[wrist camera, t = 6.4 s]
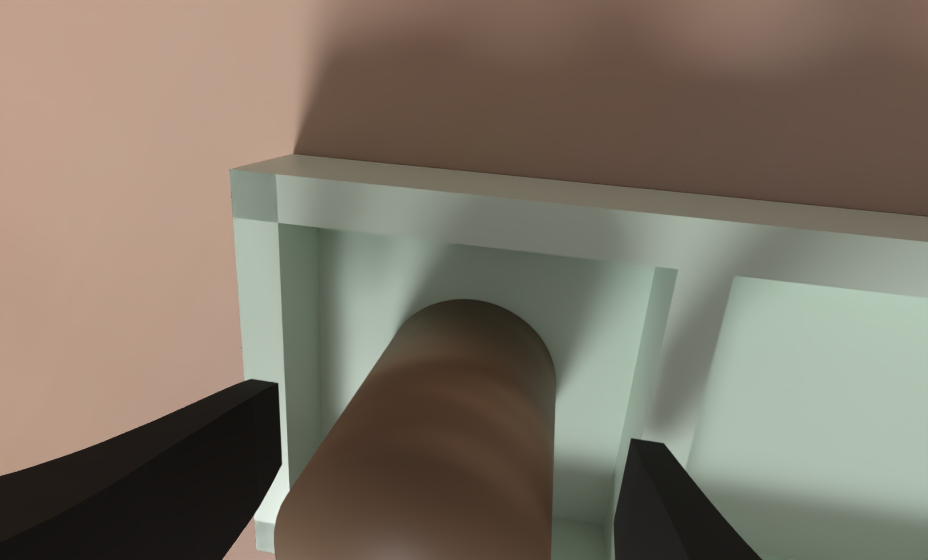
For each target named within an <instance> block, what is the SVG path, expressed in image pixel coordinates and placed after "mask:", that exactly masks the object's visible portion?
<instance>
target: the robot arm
mask: <svg viewBox="0 0 928 560" xmlns="http://www.w3.org/2000/svg"><path fill="white" fill-rule="evenodd" d="M281 466H282V447H281V426H280V405H279V385H278V383H276V382H269V381H263V380H256V379H249V380H246V381H243V382H241V383H238V384H236V385H233V386H231V387H228V388H226V389H224V390H222V391H219V392H217V393H215V394H213V395H210V396H208V397H206V398H204V399H201V400H199V401H197V402H195V403H193V404H190V405H188V406H186V407H184V408H181V409H179V410H177V411H175V412H173V413H170V414H168V415H166V416H164V417H161V418H159V419H157V420H155V421H152V422H150V423H147V424H145V425H143V426H140V427H138V428H135V429H133V430H130V431H128V432H126V433H123V434H121V435H118V436H116V437H113V438H111V439H109V440H106V441H104V442H101V443H99V444H96V445H94V446H91V447H88V448H86V449H83V450H80V451H77V452H75V453H72V454H69V455H66V456H63V457H60V458H57V459H54V460H51V461H48V462H45V463H42V464H39V465H36V466H33V467H30V468H27V469H23V470H20V471H17V472H13V473H10V474H6V475H2V476H0V560H222V559H223V558H224V556H225V555H226V553H227V552H228V551H229V549H230V548H231V547H232V545H233V544H234V542H235V541H236V540H237V538H238V537H239V535H240V534H241V533H242V531H243V530H244V528H245V527H246V526H247V524H248V523H249V521H250V520H251V518H252V517H253V516H254V514H255V513H256V511H257V510H258V508H259V507H260V505H261V503H262V501H263V500H264V498H265V496H266V494H267V492H268V491H269V489H270V487H271V485H272V483H273V481H274V479H275V477H276V475H277V473H278V472H279V470H280V468H281ZM613 525H614V549H615V560H762V559H761V558H760V557H759V555H758V554H757V553H756V552H755V551H754V550H753V549H752V548H751V547H750V546H749V545H748V544H747V543H746V542H745V541H744V540H743V538H742V537H741V536H740V535H739V534H738V533H737V532H736V531H735V529H734V528H733V527H732V526H731V525H730V524H729V523H728V522H727V520H726V519H725V518H724V517H723V516H722V515H721V513H720V512H719V511H718V510H717V509H716V507H715V506H714V505H713V504H712V503H711V502H710V500H709V499H708V498H707V497H706V495H705V494H704V493H703V492H702V491H701V489H700V488H699V487H698V486H697V484H696V483H695V482H694V481H693V479H692V478H691V477H690V476H689V474H688V473H687V472H686V470H685V469H684V468H683V467H682V465H681V464H680V463H679V462H678V460H677V459H676V458H675V456H674V455H673V454H672V453H671V451H670V450H669V449H668V448H667V446H666V445H665V444H664V443H660V442H654V441H647V440H641V439H634V438H631V440H630V445H629V450H628V455H627V460H626V464H625V469H624V474H623V479H622V484H621V488H620V493H619V498H618V503H617V508H616V512H615V517H614V522H613Z"/></svg>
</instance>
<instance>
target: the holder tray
mask: <svg viewBox="0 0 928 560" xmlns="http://www.w3.org/2000/svg"><path fill="white" fill-rule="evenodd" d="M229 170H230V184H231V198H232V212H233V226H234V240H235V254H236V268H237V282H238V296H239V310H240V324H241V338H242V352H243V366H244V380H245V381H246V380H249V379H256V380H263V381H269V382H276V383H278V385H279V405H280V426H281V447H282V466H281V468H280V470H279V472H278V473H277V475H276V477H275V479H274V481H273V483H272V485H271V487H270V489H269V491H268V492H267V494H266V496H265V498H264V500H263V501H262V503H261V505H260V507H259V508H258V510H257V511H256V513H255V514H254V519H255V533H256V547H257V550H259V551H264V552H269V553H274V554H275V550H274V528H275V522H276V517H277V514H278V512H279V509H280V506H281V504H282V502H283V501H284V499H285V497H286V495H287V494H288V492H289V491H290V489H291V488H292V486H293V485H294V483H295V482H296V480H297V479H298V477H299V476H300V474H301V473H302V472H303V470H304V469H305V467H306V466H307V464H308V463H309V461H310V460H311V458H312V457H313V455H314V454H315V452H316V451H317V449H318V448H319V446H320V445H321V443H322V442H323V440H324V439H325V438H326V436H327V435H328V433H329V432H330V430H331V429H332V427H333V426H334V424H335V423H336V421H337V420H338V418H339V417H340V415H341V414H342V412H343V411H344V409H345V408H346V407H347V405H348V404H349V402H350V401H351V399H352V398H353V396H354V395H355V393H356V392H357V390H358V389H359V387H360V386H361V384H362V383H363V381H364V380H365V378H366V377H367V376H368V374H369V373H370V371H371V370H372V368H373V367H374V365H375V364H376V362H377V361H378V359H379V358H380V356H381V355H382V353H383V352H384V350H385V349H386V347H387V346H388V345H389V343H390V342H391V340H392V339H393V337H394V336H395V334H396V333H397V331H398V330H399V329H400V327H401V326H402V325H403V324H404V323H405V322H406V321H407V320H408V319H409V318H410V317H411V316H412V315H414V314H415V313H417V312H418V311H420V310H421V309H423V308H426V307H428V306H430V305H432V304H435V303H438V302H442V301H447V300H453V299H473V300H480V301H485V302H489V303H492V304H495V305H498V306H501V307H503V308H505V309H507V310H509V311H511V312H513V313H514V314H516V315H517V316H519V317H520V318H522V319H523V320H524V321H525V322H527V323H528V324H529V325H530V326H531V327H532V328H533V329H534V330H535V331H536V332H537V333H538V335H539V336H540V337H541V339H542V340H543V341H544V343H545V345H546V347H547V349H548V350H549V353H550V355H551V358H552V360H553V364H554V368H555V375H556V401H555V435H554V470H553V505H552V539H551V560H615V549H614V525H613V522H614V517H615V512H616V508H617V503H618V498H619V493H620V488H621V484H622V479H623V474H624V469H625V464H626V460H627V455H628V450H629V445H630V440H631V438H634V439H641V440H647V441H654V442H660V443H664V444H665V445H666V446H667V448H668V449H669V450H670V451H671V453H672V454H673V455H674V456H675V458H676V459H677V460H678V462H679V463H680V464H681V465H682V467H683V468H684V469H685V470H686V472H687V473H688V474H689V476H690V477H691V478H692V479H693V481H694V482H695V483H696V484H697V486H698V487H699V488H700V489H701V491H702V492H703V493H704V494H705V495H706V497H707V498H708V499H709V500H710V502H711V503H712V504H713V505H714V506H715V507H716V509H717V510H718V511H719V512H720V513H721V515H722V516H723V517H724V518H725V519H726V520H727V522H728V523H729V524H730V525H731V526H732V527H733V528H734V529H735V531H736V532H737V533H738V534H739V535H740V536H741V537H742V538H743V540H744V541H745V542H746V543H747V544H748V545H749V546H750V547H751V548H752V549H753V550H754V551H755V552H756V553H757V554H758V555H759V557H760V558H761V559H762V560H928V217H925V216H915V215H905V214H895V213H885V212H875V211H865V210H854V209H844V208H834V207H824V206H814V205H804V204H794V203H783V202H773V201H763V200H753V199H743V198H733V197H723V196H712V195H702V194H692V193H682V192H672V191H662V190H652V189H641V188H631V187H621V186H611V185H601V184H591V183H581V182H570V181H560V180H550V179H540V178H530V177H520V176H510V175H500V174H489V173H479V172H469V171H459V170H449V169H439V168H429V167H418V166H408V165H398V164H388V163H378V162H368V161H358V160H347V159H337V158H327V157H317V156H307V155H297V154H290V155H286V156H282V157H278V158H274V159H270V160H266V161H262V162H258V163H254V164H249V165H245V166H241V167H237V168H233V169H229Z"/></svg>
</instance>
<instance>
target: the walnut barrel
mask: <svg viewBox="0 0 928 560" xmlns="http://www.w3.org/2000/svg"><path fill="white" fill-rule="evenodd" d="M555 401H556V375H555V368H554V364H553V360H552V358H551V355H550V353H549V350H548V349H547V347H546V345H545V343H544V341H543V340H542V339H541V337H540V336H539V335H538V333H537V332H536V331H535V330H534V329H533V328H532V327H531V326H530V325H529V324H528V323H527V322H525V321H524V320H523V319H522V318H520V317H519V316H517V315H516V314H514V313H513V312H511V311H509V310H507V309H505V308H503V307H501V306H498V305H495V304H492V303H489V302H485V301H480V300H473V299H453V300H447V301H442V302H438V303H435V304H432V305H430V306H428V307H426V308H423V309H421V310H420V311H418V312H417V313H415V314H414V315H412V316H411V317H410V318H409V319H408V320H407V321H406V322H405V323H404V324H403V325H402V326H401V327H400V329H399V330H398V331H397V333H396V334H395V336H394V337H393V339H392V340H391V342H390V343H389V345H388V346H387V347H386V349H385V350H384V352H383V353H382V355H381V356H380V358H379V359H378V361H377V362H376V364H375V365H374V367H373V368H372V370H371V371H370V373H369V374H368V376H367V377H366V378H365V380H364V381H363V383H362V384H361V386H360V387H359V389H358V390H357V392H356V393H355V395H354V396H353V398H352V399H351V401H350V402H349V404H348V405H347V407H346V408H345V409H344V411H343V412H342V414H341V415H340V417H339V418H338V420H337V421H336V423H335V424H334V426H333V427H332V429H331V430H330V432H329V433H328V435H327V436H326V438H325V439H324V440H323V442H322V443H321V445H320V446H319V448H318V449H317V451H316V452H315V454H314V455H313V457H312V458H311V460H310V461H309V463H308V464H307V466H306V467H305V469H304V470H303V472H302V473H301V474H300V476H299V477H298V479H297V480H296V482H295V483H294V485H293V486H292V488H291V489H290V491H289V492H288V494H287V495H286V497H285V499H284V501H283V502H282V504H281V506H280V509H279V512H278V514H277V517H276V522H275V528H274V550H275V557H276V560H551V539H552V505H553V470H554V435H555Z"/></svg>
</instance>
